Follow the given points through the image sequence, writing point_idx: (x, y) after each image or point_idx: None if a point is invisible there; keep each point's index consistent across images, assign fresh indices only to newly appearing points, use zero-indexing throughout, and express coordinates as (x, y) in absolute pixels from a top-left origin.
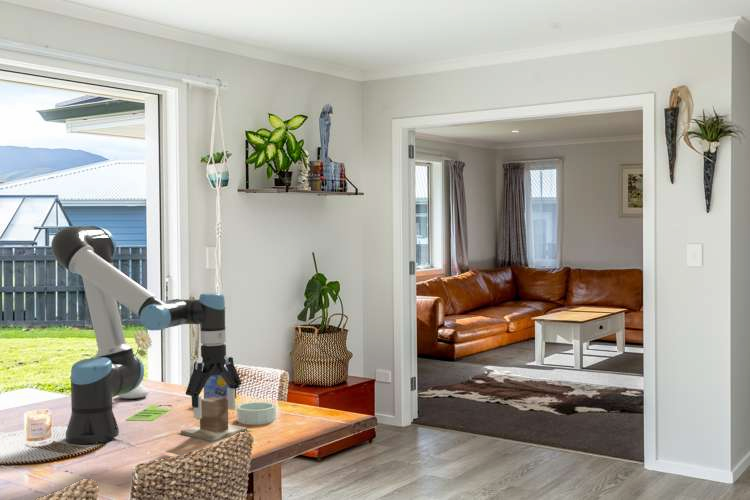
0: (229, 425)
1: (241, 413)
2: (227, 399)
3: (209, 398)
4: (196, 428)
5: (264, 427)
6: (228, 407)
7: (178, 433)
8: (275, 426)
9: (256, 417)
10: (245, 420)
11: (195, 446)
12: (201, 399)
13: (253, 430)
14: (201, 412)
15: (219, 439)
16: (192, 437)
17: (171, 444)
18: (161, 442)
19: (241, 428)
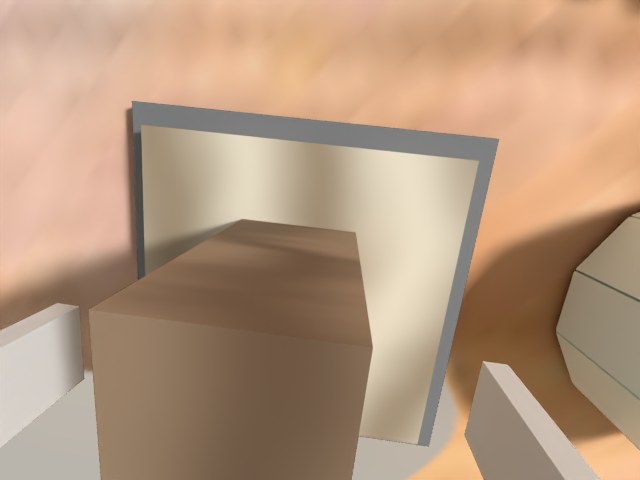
0: (418, 324)
1: (634, 326)
2: (536, 444)
3: (250, 383)
4: (240, 185)
5: (578, 420)
6: (487, 383)
7: (147, 108)
8: (623, 457)
9: (618, 424)
10: (582, 340)
11: (83, 343)
12: (118, 321)
13: None
14: (35, 416)
15: None
16: (139, 257)
17: (24, 211)
18: (8, 127)
19: (388, 426)
